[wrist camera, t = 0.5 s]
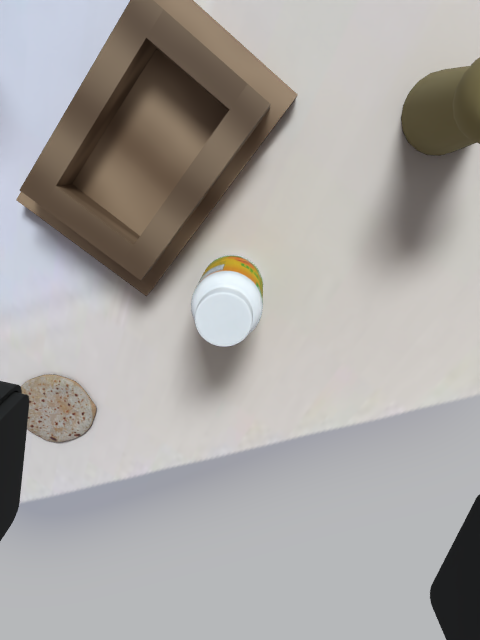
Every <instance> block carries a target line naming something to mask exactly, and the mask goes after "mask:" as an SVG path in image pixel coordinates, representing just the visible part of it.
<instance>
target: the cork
mask: <svg viewBox="0 0 480 640" xmlns="http://www.w3.org/2000/svg"><path fill="white" fill-rule="evenodd" d="M401 120H402V128H403V132H404V134H405V136H406V139H407V141H408V142H409V143H410V144H411V145H412V146H413V147H414V148H415V149H416V150H417V151H420V152H422V153H424V154H426V155H437V156H440V155H444V154H448V153H451V152H454V151H456V150H459V149H461V148H464V147H466V146H469V145H471V144H474V143H476V142H477V143H479V144H480V58H478V59H477V60H475V62H474V63H473V64H472V65H471V66H466V67H459V68H452V69H445V70H441V71H437V72H434V73H430V74H429V75H427V76H426V77H424V78H423V79H421V80H420V81H419V82H418V83H417V84H416V85H415V86H414V87H413V88H412V90H411V91H410V92H409V94H408V96H407V98H406V100H405V103H404V105H403V111H402V116H401Z"/></svg>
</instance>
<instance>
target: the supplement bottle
mask: <svg viewBox="0 0 480 640" xmlns="http://www.w3.org/2000/svg"><path fill="white" fill-rule="evenodd" d="M262 308H263V282H262V277H261V274H260V272H259V270H258V268H257V267H256V266H255V265H254V264H253V263H252V262H251V261H250V260H248V259H246V258H244V257H242V256H238V255H227V256H223V257H220V258H218V259H216V260H214V261H213V262H212V263H211V264H210V265H209V266H208V267H207V269H206V270H205V272H204V274H203V275H202V277H201V279H200V281H199V283H198V285H197V287H196V289H195V291H194V293H193V296H192V301H191V311H192V315H193V318H194V320H195V325H196V328H197V330H198V332H199V334H200V335H201V336H202V337H203V338H204V339H205V340H206V341H207V342H209V343H211V344H213V345H216V346H220V347H228V346H233V345H236V344H238V343H240V342H241V341H242V340H244V339H245V338H246V336H247V335H248V334H249V333H251V332H252V331H253V330H254V329H255V327H256V326H257V324H258V323H259V321H260V318H261V315H262Z"/></svg>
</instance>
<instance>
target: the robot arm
mask: <svg viewBox="0 0 480 640" xmlns="http://www.w3.org/2000/svg"><path fill="white" fill-rule="evenodd" d="M28 412H29V396H28V395H26V394H22V389H21V387H20V386H19V385H16V384H12V383H7V382H2V381H0V541H1V539H2V537H3V536H4V535H5V533H6V532H7V530H8V529H9V527H10V526H11V524H12V522H13V520H14V518H15V516H16V513H17V511H18V507H19V501H20V491H21V481H22V471H23V461H24V451H25V441H26V431H27V422H28ZM430 599H431V604H432V607H433V610H434V612H435V614H436V617H437V619H438V621H439V624H440V626H441V628H442V630H443V633H444V635H445V638H446V640H480V495H478V497H477V498H476V500H475V502H474V504H473V506H472V508H471V510H470V512H469V514H468V515H467V518H466V519H465V522H464V524H463V526H462V527H461V529H460V531H459V533H458V535H457V537H456V539H455V541H454V543H453V545H452V547H451V549H450V551H449V552H448V555H447V556H446V558H445V560H444V562H443V564H442V566H441V568H440V570H439V572H438V574H437V576H436V578H435V580H434V582H433V584H432V586H431V590H430Z"/></svg>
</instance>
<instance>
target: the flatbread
mask: <svg viewBox="0 0 480 640" xmlns="http://www.w3.org/2000/svg"><path fill="white" fill-rule="evenodd" d="M21 389H22V394H26V395H28V396H29V412H28V422H27V429H28V430H29V431H30V432H32V433H34V434H35V435H37V436H39V437H41V438H43V439H45V440H47V441H52V442H64V441H68V440H71V439H74V438H77V437H79V436H81V435H82V434H84V433H85V432H86V431H87V430H88V429H89V428H90V426H91V425H92V422H93V419H94V416H95V414H96V406H95V404H94V403H93V402H92V400H91V399H90V397H89V396H88V394H87V393H86V391H85V390H84V389H83V388H82V387H81V386H80V385H79V384H78V383H77V382H75V381H73V380H71V379H68V378H65V377H62V376H58V375H42V376H39V377H36V378H33V379H31V380H28V381H27V382H25V383H24V384H23V385H22V386H21Z"/></svg>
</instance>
